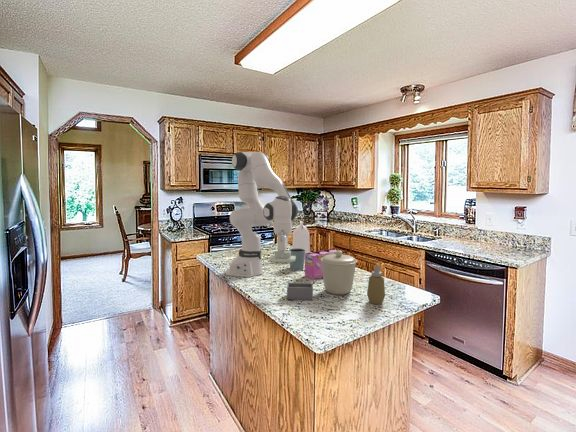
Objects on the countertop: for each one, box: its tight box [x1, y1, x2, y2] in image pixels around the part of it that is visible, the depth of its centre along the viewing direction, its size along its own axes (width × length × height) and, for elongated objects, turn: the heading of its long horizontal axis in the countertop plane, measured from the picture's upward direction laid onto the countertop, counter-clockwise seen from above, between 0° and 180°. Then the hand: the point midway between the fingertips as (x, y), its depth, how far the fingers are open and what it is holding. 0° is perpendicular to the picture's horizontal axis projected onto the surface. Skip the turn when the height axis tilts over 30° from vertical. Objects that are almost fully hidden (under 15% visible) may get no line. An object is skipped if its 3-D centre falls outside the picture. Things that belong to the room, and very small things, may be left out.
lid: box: [269, 250, 296, 263], centre depth 168 cm, size 13×8×5 cm, turn 87°
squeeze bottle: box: [366, 263, 386, 305], centre depth 154 cm, size 8×8×18 cm
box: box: [286, 282, 314, 301], centre depth 160 cm, size 12×7×6 cm, turn 87°
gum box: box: [304, 248, 338, 280], centre depth 200 cm, size 24×8×14 cm, turn 127°
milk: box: [291, 220, 311, 260], centre depth 240 cm, size 12×12×26 cm
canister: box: [321, 249, 358, 296], centre depth 168 cm, size 18×18×21 cm
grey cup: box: [288, 248, 305, 271], centre depth 212 cm, size 10×10×12 cm
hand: (282, 256), depth 168 cm, fingers closed on lid, 3 cm apart
